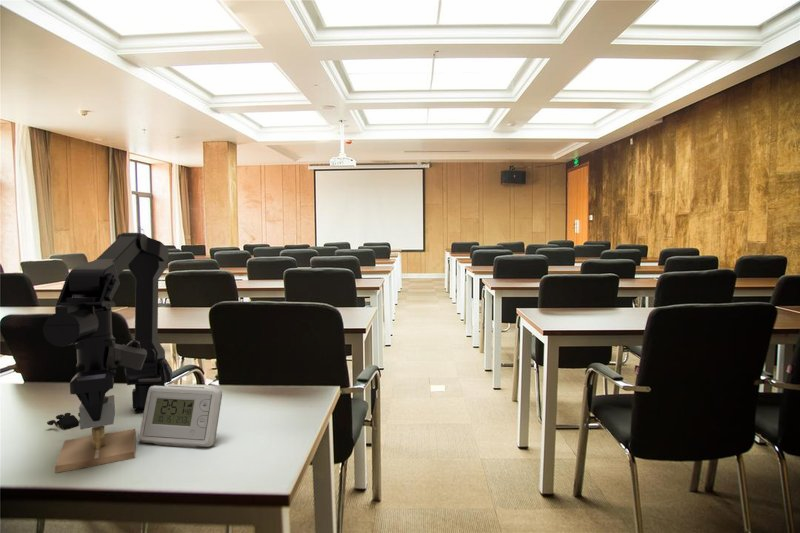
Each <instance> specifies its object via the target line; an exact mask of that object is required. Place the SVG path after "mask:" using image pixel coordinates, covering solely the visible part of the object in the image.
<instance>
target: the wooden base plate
mask: <svg viewBox="0 0 800 533" xmlns="http://www.w3.org/2000/svg"><path fill="white" fill-rule="evenodd" d="M105 431H106V430H105V426H99V427H93V428H91V435H90V436H89V435H88V436H82V437H78V438H77V437H76V438H72V439H65V440H64V442H63V445H62V447H61V450H60V452H59V455H58V458H57V461H56V463H55V465H54V473H55V474H58V473H63V472H68V471H74V470H80V469H84V468H88V467H95V466H100V465H103V464H110V463H114V462H120V461H124V460H130V459H131V460H132V459H134V458H135V459H136V434H137V431H136V428H131V429H125V430H118V431H113V432H107V433H106V432H105Z"/></svg>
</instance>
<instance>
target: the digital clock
mask: <svg viewBox="0 0 800 533" xmlns="http://www.w3.org/2000/svg"><path fill="white" fill-rule="evenodd" d="M222 399H223V392H222V390H221V389H218V388H210V387H209V388H208V387H204V386H188V385H187V386H185V385H184V386H183V385H165V386H151V387H150V388H149V390H148V394H147V398H146V404H145V409H144V412H143V415H142V419H141V424H140V430H139V436H138V440H139V442H141V443H147V444H154V445H158V446H159V445H160V446H173V447H188V448H197V447H207V448H208V447H212V446H213V445H214V444H215V443H216V438H217V430H218V424H219V418H220V412H221V411H220V410H221V405H222Z"/></svg>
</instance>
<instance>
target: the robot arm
mask: <svg viewBox="0 0 800 533" xmlns="http://www.w3.org/2000/svg"><path fill="white" fill-rule="evenodd" d="M169 255H170V253H169V249H168V247H167V246H166V245H165V244H164V243H163V242H162V241H160V240H157V239H154V238H151V237H149V236H147V235H146V234H145V233H142V232H122V233H119V234H117V237H116V240H115V241H114V242H112V243H111V244H110V246H108V247H107V249H106V250H104V251H103V252H102V253H101V254H100V255H99V256H98V257H97V258H96V259H94V260H92V261H88V262H84V263H81V264H79V265H77V266H75V267H73V268H72V269H71V270H70V271H69V273H68V274H67V275H66V278H65V281H64V283H63V286H62V288H61V290H60V292H59V293H60V294H59V296H58V299H57V302H56V305H55V307H54V312H55V313H53V314H51V315H50V316H49V317H48V318H47V319H46V321H45V322H44V324H43V326H42V333H43V336H44V339H46V341H47V342H48V343H50V344H51V345H52V346H55V347H61V348H63V347H64V348H65V347H68V346H71V345H74V350H76V360H77V361H76V362H77V363H76V365H75V372H76V374H75V375H74V376H73V377H72V378H71V380H70V382H69V392H70V395H75V396H76V397H77V398H78V400H79V402H80V404H81V403H82V404H83V406H84V407H85V409H86V411H87V412H88V414H89V415H90V417H91V419H92V420H93V421H99V420H100V418H101V412H102V407H103V401H104V396H106V394H107V393H108V392H109V391H110V390H112V389H114V384H115V382H114V381H115V379H114V377H115V375H116V374H117V370H116V369H115V368H118V366H120V367H123V374H124V378H125V381H126V385H127V386H134V388H133V389H132V390H131V394H132V395H131V396H132V400H131V401H132V409H133V410H134V414H141V413H144V409H145V404H146V398H147V394H148V390H149V388H150V387H151V386H166V384H167V383H171V382H172V380H173V379H172V377H173V369H172V367H171V366H170V364H169V362H168V360H167V359H166V350H165V349H164V347H163V346H162V344H161V343H160V342H159V340H158V336H159V334H158V332H159V331H158V329H159V328H158V327H159V326H158V322H159V321H158V320H159V317H158V316H159V280H160V278H161V277H162V275H163V273H164V272H165V271H166V269H167V261H168V260H169V258H170V257H169ZM126 267H127V268H126ZM126 269H128V270H129V272H130V273H131V274H132V275H133V278H134V279H135V293H134V294H135V296H134V297H135V301H134V302H135V305H134V306H135V307H134V308H135V309H134V339H133V340H132V339H131V340H130V341H129V342H128V343H127V344H119V343H116V337H114V335H113V316H112V308H114V307H115V306H116V303H115V302H114V300H113V298H114V297H115V294H116V292H117V290H118V289H119V287H120V285H121V283H120V282H121V281H120V279H119V276H120V275H121V274H122V273H123V271H124V270H126ZM110 369H112V370H110Z"/></svg>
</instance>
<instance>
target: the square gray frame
mask: <svg viewBox="0 0 800 533" xmlns="http://www.w3.org/2000/svg"><path fill="white" fill-rule="evenodd" d="M78 409H79V410H78V411H79V412H78V413H80V417H79V429H80V430H85V429H92V428H93V427H99V426H104V427H105V426H110V425H111V426H112V425H115V424H114V423H115V422H114V421H115V418H116V408H115V395H113V394H111V395H105V396H104V401H103V407H102V412H101V418H100V420H99V421H93V420H92V419H91V417H90V415H89V414H88V412H87V411H86V409H85V407H84V406H83V404H82V403H81V402H80V405H79V408H78Z"/></svg>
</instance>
